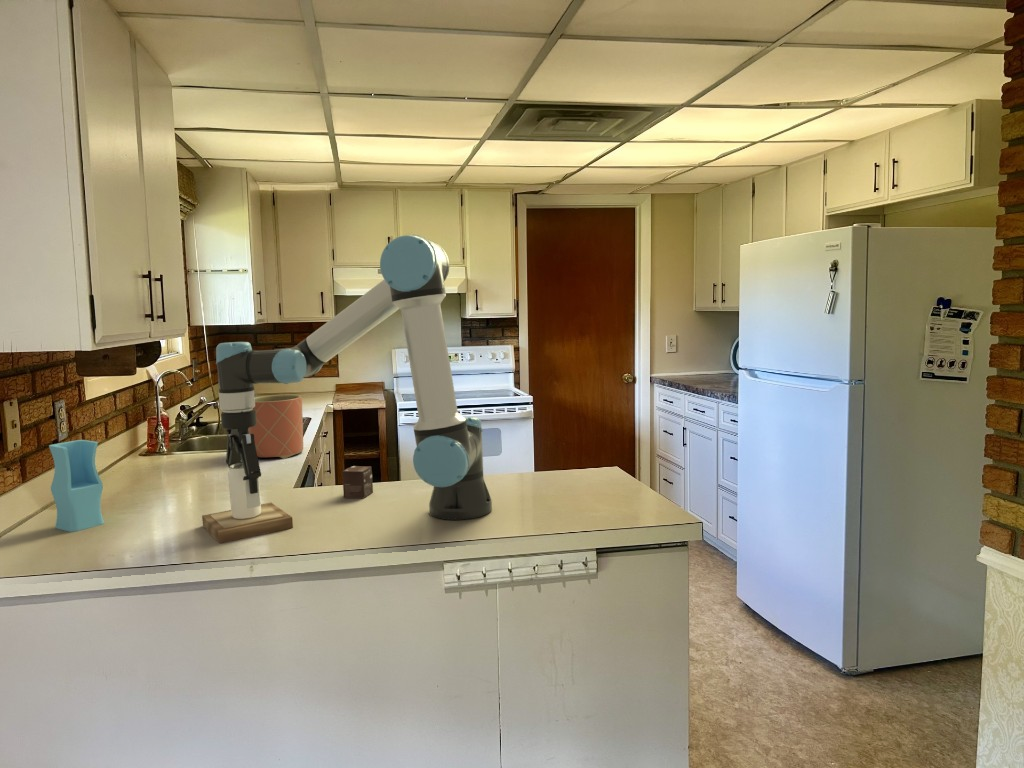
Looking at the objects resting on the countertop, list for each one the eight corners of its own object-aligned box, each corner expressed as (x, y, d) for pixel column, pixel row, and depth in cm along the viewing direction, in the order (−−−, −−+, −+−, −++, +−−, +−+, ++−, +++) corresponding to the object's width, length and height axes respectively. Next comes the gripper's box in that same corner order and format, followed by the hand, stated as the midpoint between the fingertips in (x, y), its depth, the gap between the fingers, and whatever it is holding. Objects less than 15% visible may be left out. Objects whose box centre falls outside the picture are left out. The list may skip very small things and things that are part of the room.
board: (293, 527, 159) (292, 516, 159) (219, 543, 150) (218, 531, 150) (271, 512, 172) (270, 501, 172) (202, 525, 163) (202, 514, 162)
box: (364, 498, 182) (362, 471, 181) (343, 498, 183) (341, 471, 182) (373, 492, 188) (372, 466, 187) (352, 492, 189) (351, 465, 188)
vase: (71, 532, 161) (62, 448, 159) (55, 527, 165) (45, 445, 163) (106, 523, 168) (98, 441, 165) (89, 518, 172) (81, 439, 170)
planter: (236, 460, 234) (232, 402, 232) (265, 449, 253) (261, 394, 251) (289, 461, 231) (285, 401, 229) (314, 449, 250) (311, 394, 247)
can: (267, 512, 162) (263, 462, 160) (246, 521, 156) (242, 469, 155) (247, 509, 165) (242, 460, 163) (225, 518, 159) (220, 467, 157)
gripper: (271, 413, 150) (278, 509, 152) (240, 402, 170) (247, 487, 172) (235, 418, 146) (243, 516, 148) (208, 406, 166) (215, 492, 168)
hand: (245, 500), depth 160 cm, fingers open, 13 cm apart
